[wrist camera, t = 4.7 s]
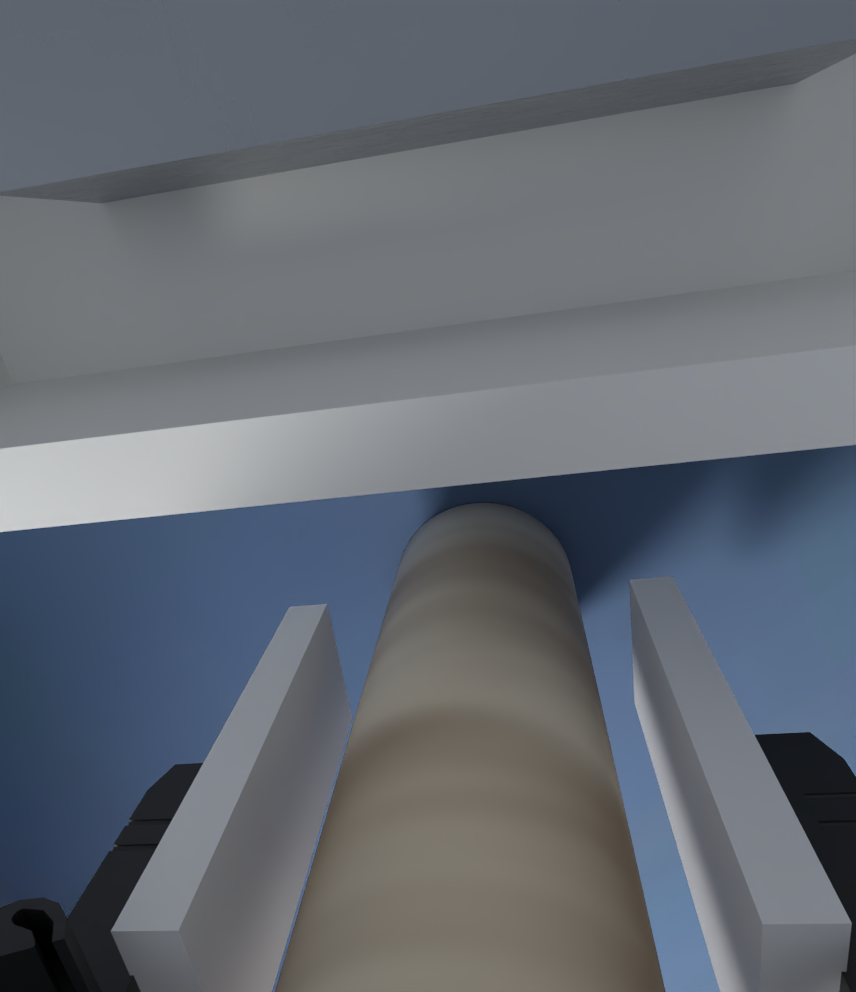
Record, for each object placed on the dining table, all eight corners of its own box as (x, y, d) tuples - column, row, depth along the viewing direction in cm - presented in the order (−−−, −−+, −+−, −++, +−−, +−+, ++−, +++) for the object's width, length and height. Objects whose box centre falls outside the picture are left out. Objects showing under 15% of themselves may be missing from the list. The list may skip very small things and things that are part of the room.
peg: (577, 650, 16) (930, 2448, 3) (412, 661, 17) (107, 2220, 4) (565, 494, 15) (1124, 2586, 2) (385, 511, 15) (-279, 2184, 2)
